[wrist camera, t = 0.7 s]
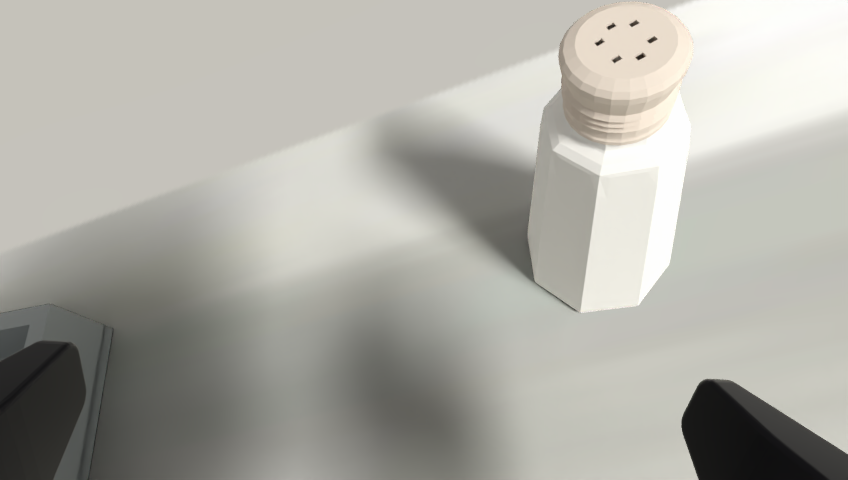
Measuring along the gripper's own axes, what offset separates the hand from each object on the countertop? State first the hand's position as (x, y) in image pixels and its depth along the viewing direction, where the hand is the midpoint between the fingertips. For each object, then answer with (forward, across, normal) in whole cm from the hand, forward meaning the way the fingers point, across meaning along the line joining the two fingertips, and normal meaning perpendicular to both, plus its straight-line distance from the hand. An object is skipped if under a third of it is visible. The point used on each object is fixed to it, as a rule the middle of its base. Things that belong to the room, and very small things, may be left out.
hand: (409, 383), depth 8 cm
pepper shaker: (+12, -9, +4) cm, 15 cm away
